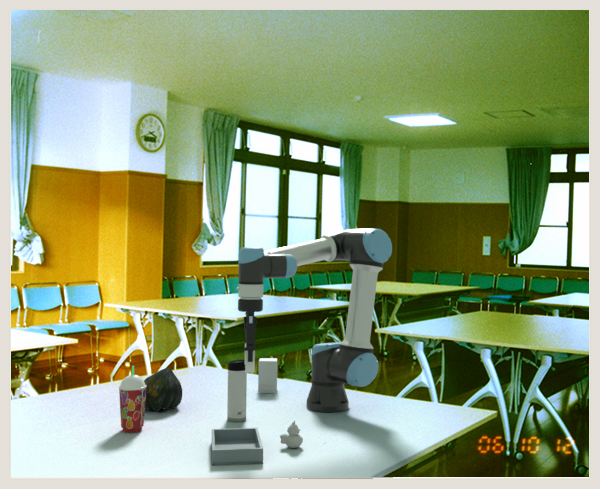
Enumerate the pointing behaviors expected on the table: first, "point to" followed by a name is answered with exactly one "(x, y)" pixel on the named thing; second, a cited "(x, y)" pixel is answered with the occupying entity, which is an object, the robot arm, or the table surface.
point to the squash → (162, 390)
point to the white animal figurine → (292, 436)
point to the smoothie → (132, 403)
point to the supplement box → (267, 375)
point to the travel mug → (236, 391)
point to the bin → (236, 446)
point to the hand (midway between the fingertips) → (249, 368)
